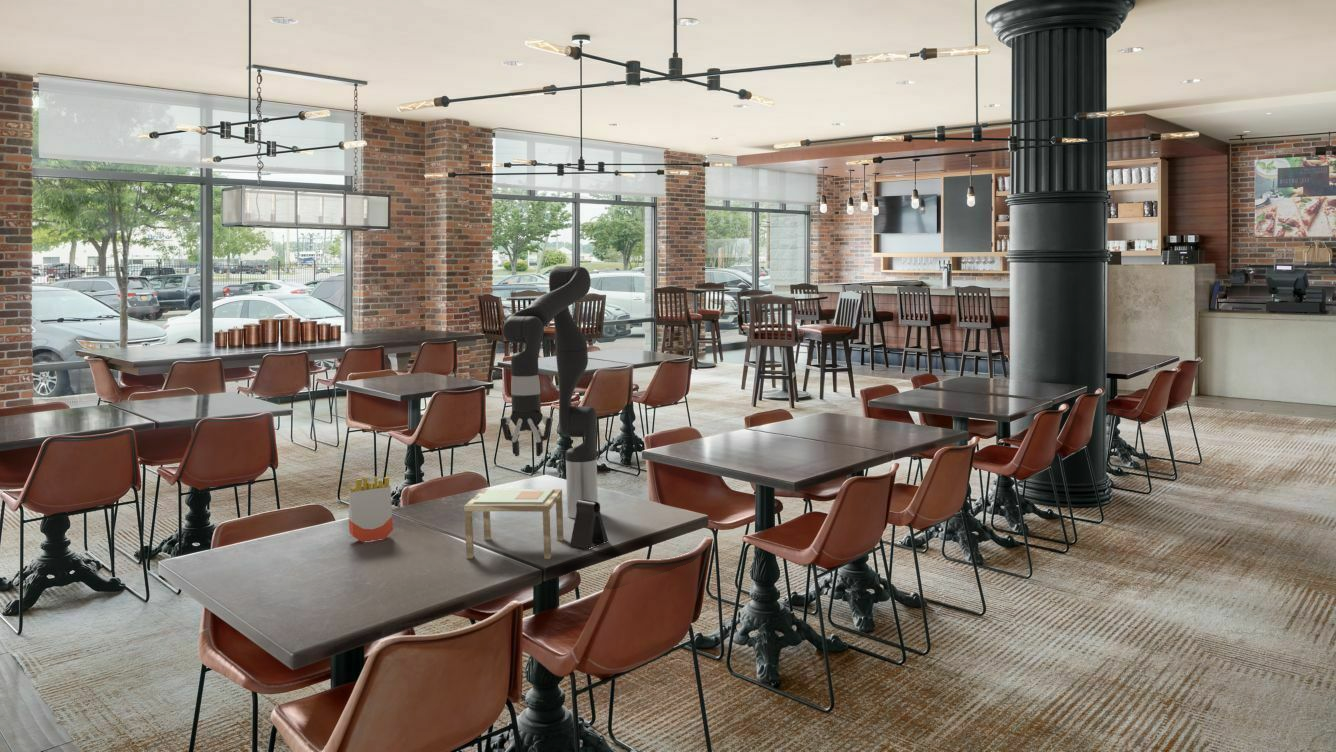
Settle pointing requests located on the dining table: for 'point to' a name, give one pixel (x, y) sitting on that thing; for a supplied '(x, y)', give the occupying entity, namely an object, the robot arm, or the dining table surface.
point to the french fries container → (370, 510)
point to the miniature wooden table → (486, 509)
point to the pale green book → (514, 496)
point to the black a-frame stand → (588, 526)
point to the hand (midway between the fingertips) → (528, 455)
